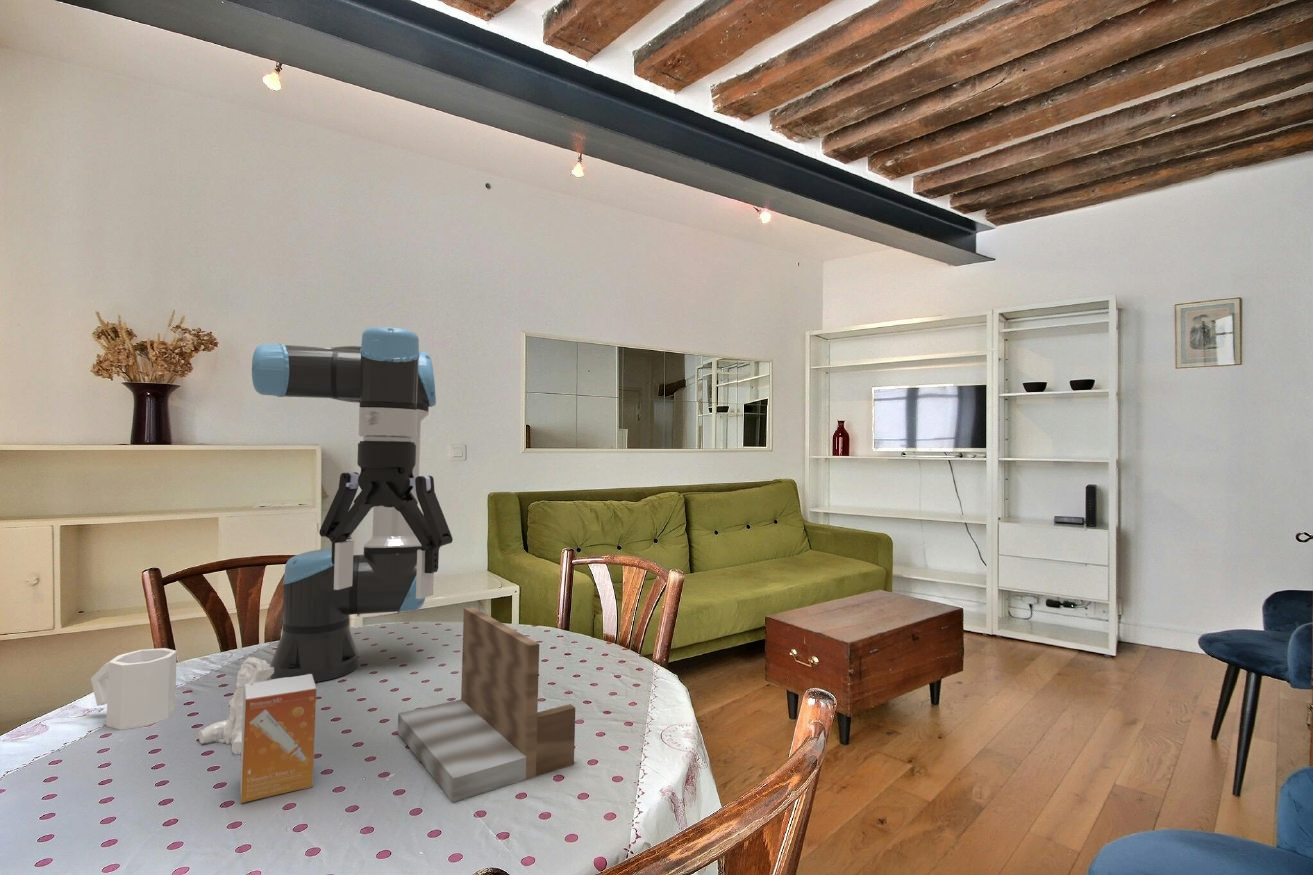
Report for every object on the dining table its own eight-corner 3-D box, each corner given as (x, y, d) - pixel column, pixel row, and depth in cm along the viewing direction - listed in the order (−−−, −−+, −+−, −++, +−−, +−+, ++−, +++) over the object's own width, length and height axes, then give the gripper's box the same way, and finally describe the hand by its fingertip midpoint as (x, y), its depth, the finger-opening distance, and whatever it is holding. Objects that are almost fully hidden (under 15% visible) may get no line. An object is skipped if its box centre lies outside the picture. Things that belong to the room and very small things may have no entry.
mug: (186, 708, 108) (188, 648, 108) (145, 730, 100) (147, 666, 100) (114, 706, 108) (117, 646, 109) (67, 728, 100) (70, 663, 100)
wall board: (397, 732, 101) (401, 616, 101) (503, 707, 112) (506, 602, 112) (452, 802, 82) (457, 658, 82) (573, 764, 93) (577, 637, 93)
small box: (240, 805, 80) (243, 699, 80) (239, 782, 86) (242, 682, 86) (314, 787, 85) (317, 687, 85) (309, 766, 90) (312, 672, 90)
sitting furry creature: (193, 743, 96) (196, 662, 96) (249, 721, 104) (252, 645, 104) (238, 756, 92) (241, 671, 93) (292, 732, 100) (294, 654, 101)
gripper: (294, 437, 91) (289, 589, 91) (448, 441, 84) (443, 606, 83) (335, 438, 98) (331, 579, 98) (480, 442, 91) (476, 594, 91)
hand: (382, 592), depth 91 cm, fingers open, 13 cm apart
